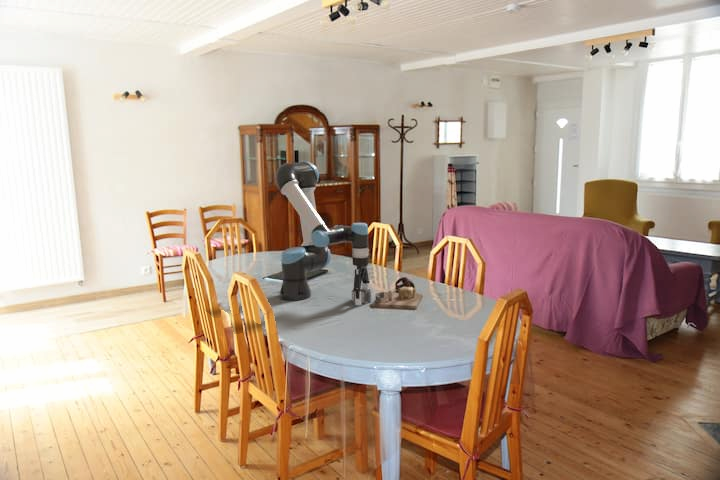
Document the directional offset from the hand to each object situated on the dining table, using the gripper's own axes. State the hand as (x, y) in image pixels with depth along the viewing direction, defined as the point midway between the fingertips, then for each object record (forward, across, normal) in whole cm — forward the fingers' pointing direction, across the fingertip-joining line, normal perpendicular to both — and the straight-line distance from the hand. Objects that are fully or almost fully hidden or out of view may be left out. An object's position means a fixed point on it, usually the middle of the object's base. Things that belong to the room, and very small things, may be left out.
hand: (361, 300), depth 261 cm
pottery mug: (0, +21, -17) cm, 27 cm away
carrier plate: (0, +2, -17) cm, 17 cm away
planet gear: (0, 0, 0) cm, 0 cm away
